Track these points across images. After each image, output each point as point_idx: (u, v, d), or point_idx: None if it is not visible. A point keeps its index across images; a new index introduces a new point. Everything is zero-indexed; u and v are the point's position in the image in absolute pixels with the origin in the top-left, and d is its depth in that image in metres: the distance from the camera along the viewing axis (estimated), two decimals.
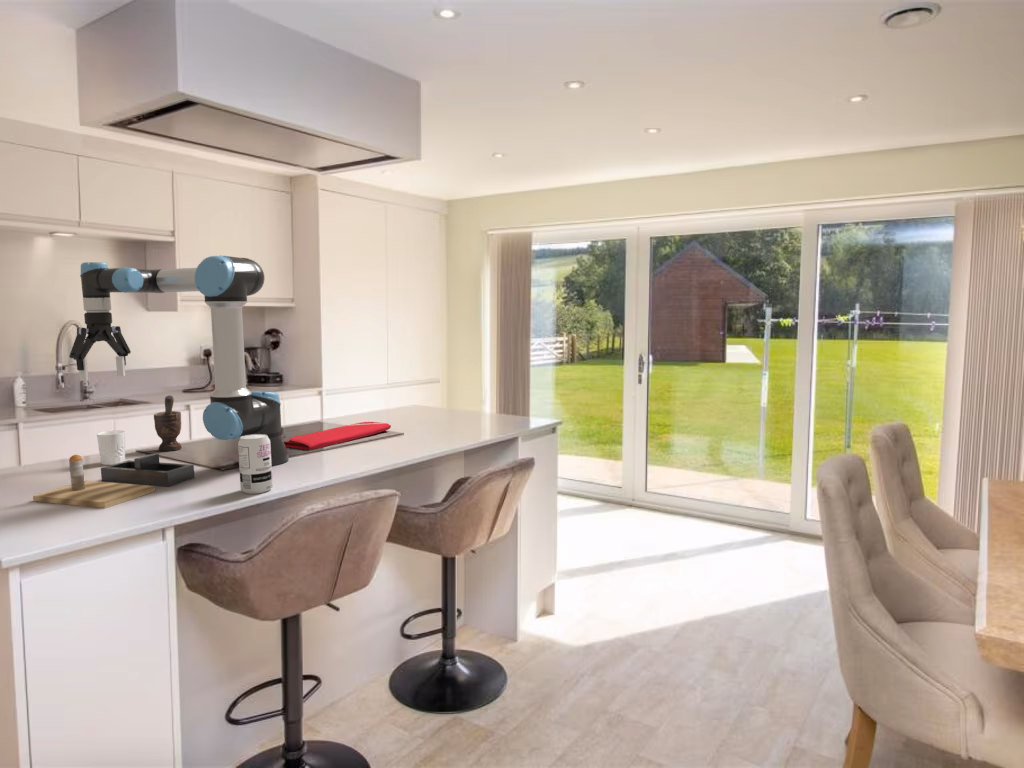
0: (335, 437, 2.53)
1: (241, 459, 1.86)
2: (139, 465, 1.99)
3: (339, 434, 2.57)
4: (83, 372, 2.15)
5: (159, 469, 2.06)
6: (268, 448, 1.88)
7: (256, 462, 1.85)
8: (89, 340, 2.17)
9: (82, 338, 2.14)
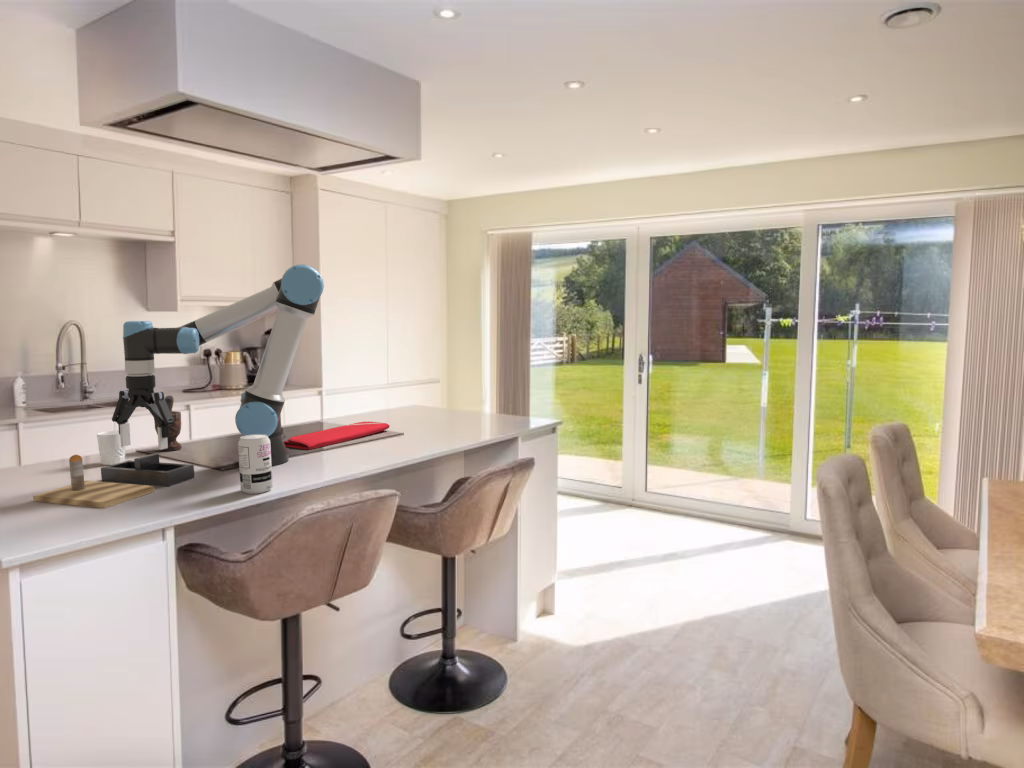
0: (334, 437, 2.53)
1: (241, 459, 1.86)
2: (139, 465, 1.99)
3: (338, 434, 2.57)
4: None
5: (159, 469, 2.06)
6: (268, 448, 1.88)
7: (256, 462, 1.85)
8: None
9: (118, 401, 2.01)
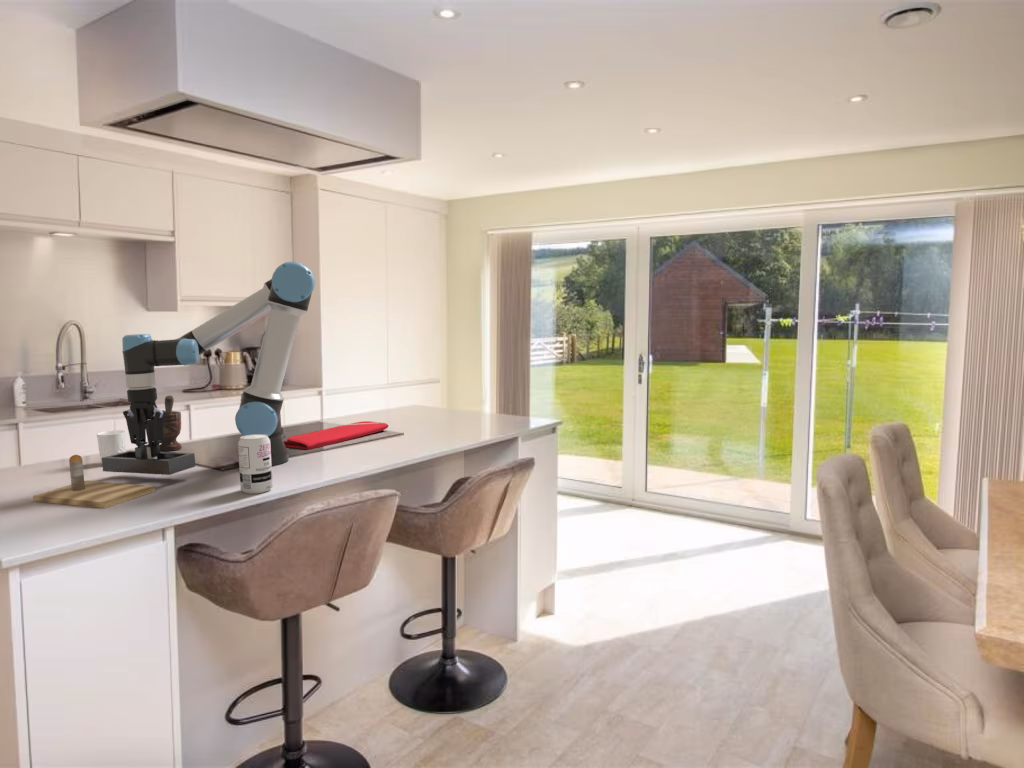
0: (333, 437, 2.54)
1: (241, 459, 1.86)
2: (140, 454, 1.99)
3: (337, 434, 2.58)
4: None
5: (160, 458, 2.06)
6: (268, 448, 1.88)
7: (256, 462, 1.85)
8: None
9: (127, 422, 2.02)
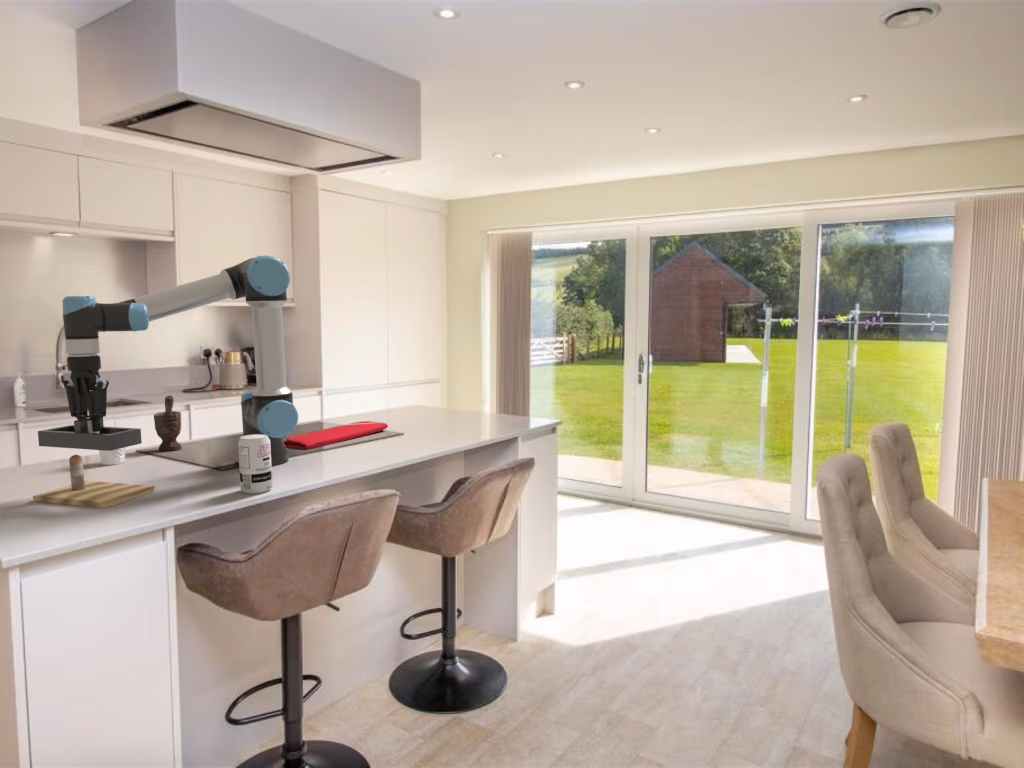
0: (332, 436, 2.54)
1: (241, 459, 1.86)
2: (79, 428, 1.80)
3: (336, 433, 2.58)
4: None
5: (104, 433, 1.87)
6: (268, 448, 1.88)
7: (256, 462, 1.85)
8: None
9: (67, 393, 1.83)
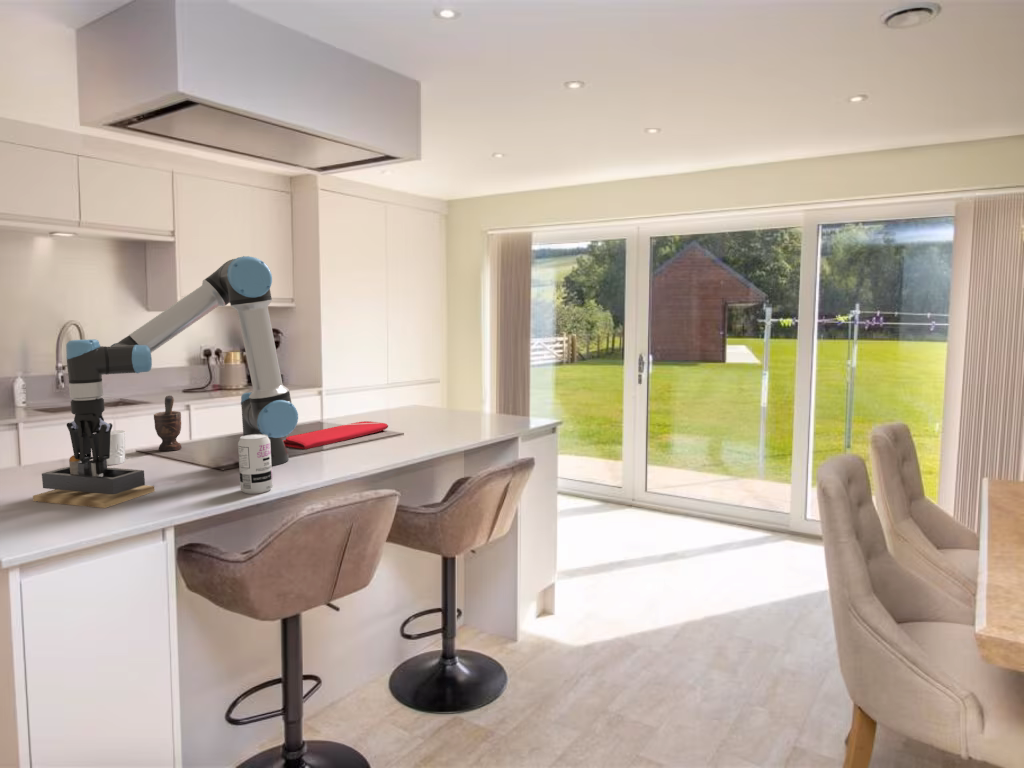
0: (331, 436, 2.54)
1: (241, 459, 1.86)
2: (83, 471, 1.82)
3: (335, 433, 2.58)
4: None
5: (107, 474, 1.89)
6: (268, 448, 1.88)
7: (256, 462, 1.85)
8: None
9: (71, 435, 1.85)
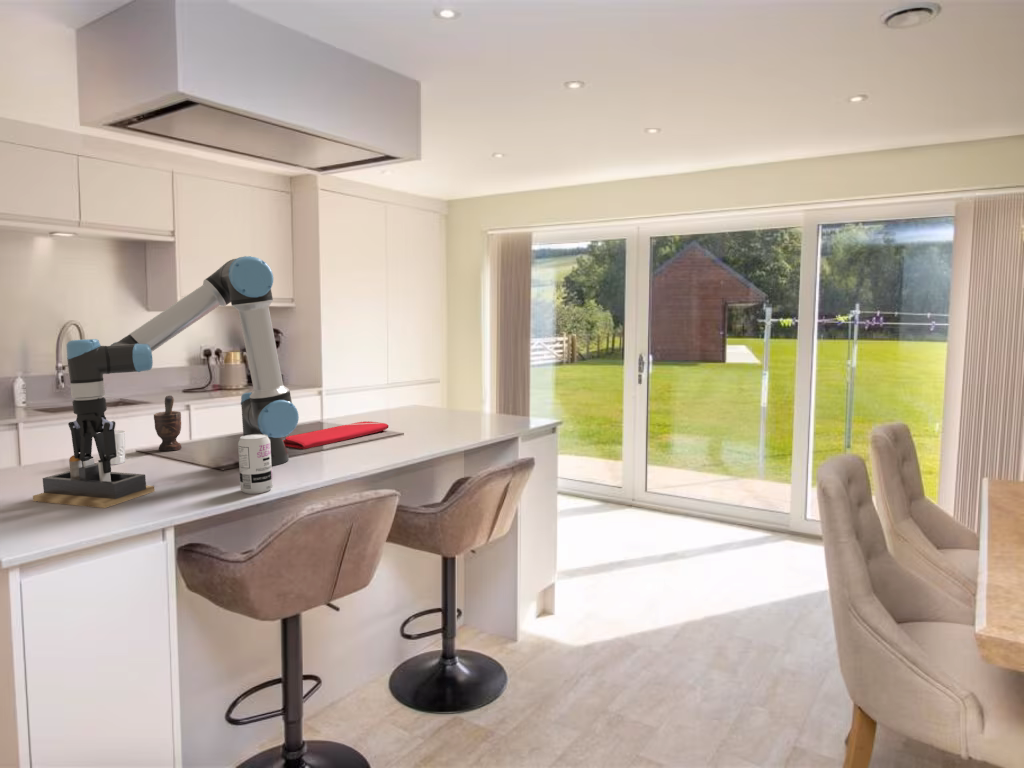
0: (330, 436, 2.54)
1: (241, 459, 1.86)
2: (84, 475, 1.82)
3: (335, 433, 2.58)
4: None
5: None
6: (268, 448, 1.88)
7: (256, 462, 1.85)
8: None
9: (72, 434, 1.84)
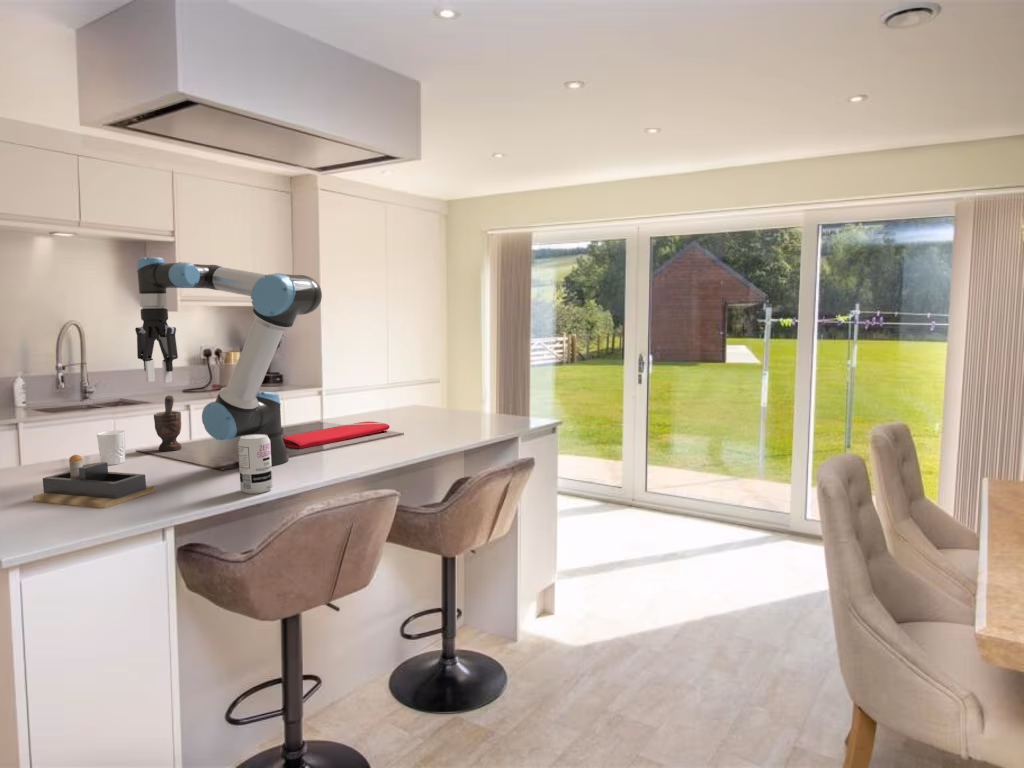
0: (328, 436, 2.54)
1: (241, 459, 1.86)
2: (84, 475, 1.82)
3: (333, 433, 2.58)
4: None
5: (108, 479, 1.89)
6: (268, 448, 1.88)
7: (256, 462, 1.85)
8: None
9: (137, 338, 2.17)
